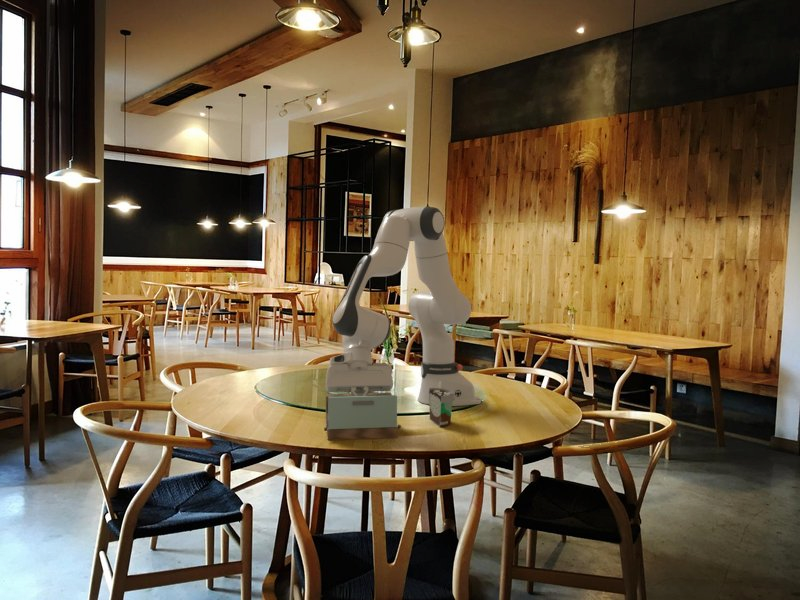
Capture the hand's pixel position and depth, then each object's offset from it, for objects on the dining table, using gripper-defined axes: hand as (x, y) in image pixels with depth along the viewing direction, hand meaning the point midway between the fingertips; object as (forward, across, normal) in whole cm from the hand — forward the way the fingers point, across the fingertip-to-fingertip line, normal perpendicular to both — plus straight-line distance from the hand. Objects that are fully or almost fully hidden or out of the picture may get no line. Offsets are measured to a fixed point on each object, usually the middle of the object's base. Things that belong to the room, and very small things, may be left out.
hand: (360, 402), depth 192 cm
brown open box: (+5, 0, -8) cm, 10 cm away
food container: (0, -27, -13) cm, 30 cm away
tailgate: (+8, 0, -1) cm, 8 cm away
